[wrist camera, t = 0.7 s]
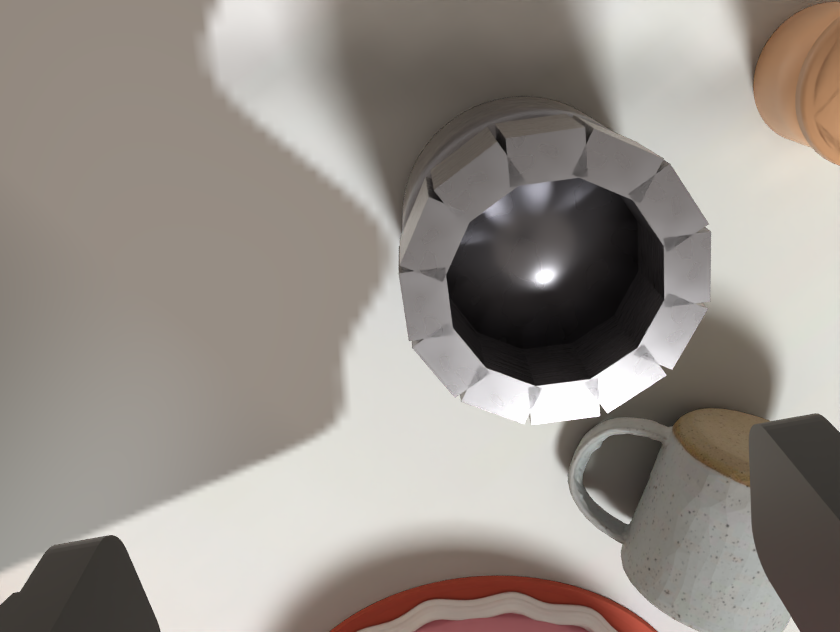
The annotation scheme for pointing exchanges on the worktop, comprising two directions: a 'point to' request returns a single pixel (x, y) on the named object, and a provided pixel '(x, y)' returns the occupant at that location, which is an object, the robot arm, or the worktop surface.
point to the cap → (803, 80)
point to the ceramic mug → (691, 522)
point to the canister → (548, 261)
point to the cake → (495, 609)
